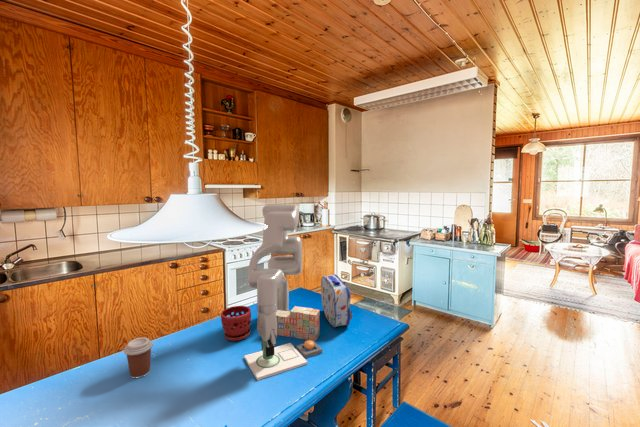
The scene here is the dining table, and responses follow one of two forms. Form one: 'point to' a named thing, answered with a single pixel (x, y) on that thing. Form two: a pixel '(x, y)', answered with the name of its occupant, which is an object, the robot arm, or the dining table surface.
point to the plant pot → (236, 323)
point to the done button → (309, 345)
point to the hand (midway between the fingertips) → (267, 352)
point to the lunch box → (335, 301)
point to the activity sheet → (275, 361)
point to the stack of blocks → (299, 323)
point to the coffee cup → (138, 356)
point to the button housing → (309, 353)
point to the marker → (265, 350)
